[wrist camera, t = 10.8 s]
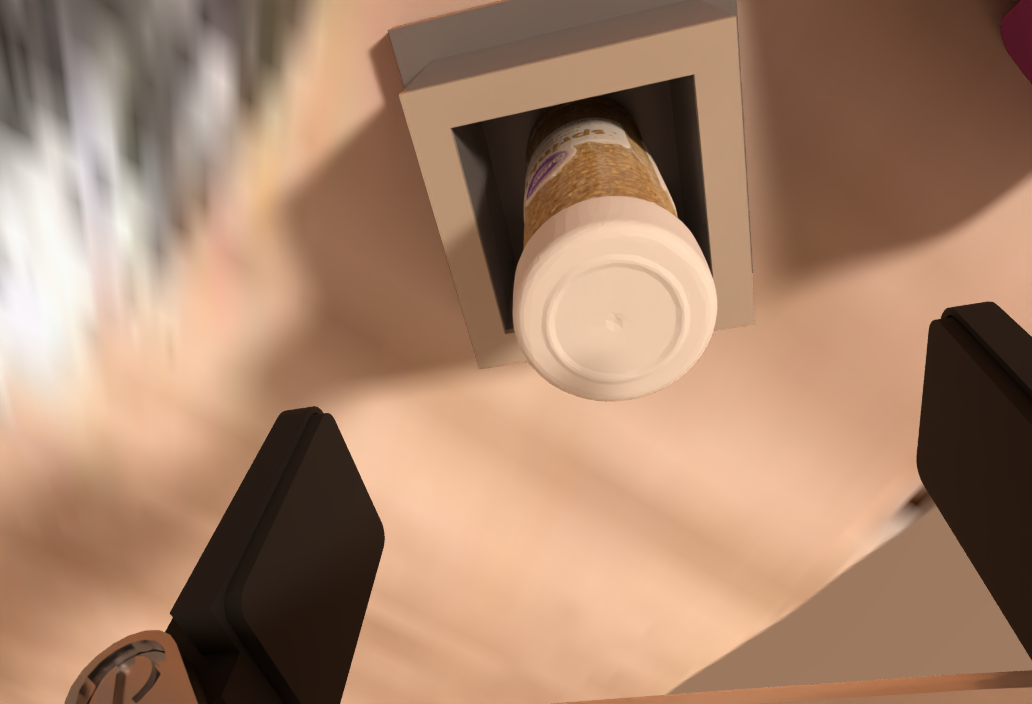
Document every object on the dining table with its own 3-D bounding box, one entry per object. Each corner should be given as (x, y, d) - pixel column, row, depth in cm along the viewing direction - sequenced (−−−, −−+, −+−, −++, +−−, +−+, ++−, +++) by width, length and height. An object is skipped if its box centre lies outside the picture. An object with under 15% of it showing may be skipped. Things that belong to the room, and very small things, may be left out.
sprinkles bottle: (558, 72, 25) (570, 186, 14) (667, 127, 26) (765, 279, 15) (505, 184, 28) (478, 365, 16) (608, 232, 28) (653, 436, 17)
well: (393, 27, 26) (340, 57, 20) (727, -56, 24) (785, -51, 18) (474, 311, 32) (453, 404, 26) (747, 263, 30) (797, 351, 24)
